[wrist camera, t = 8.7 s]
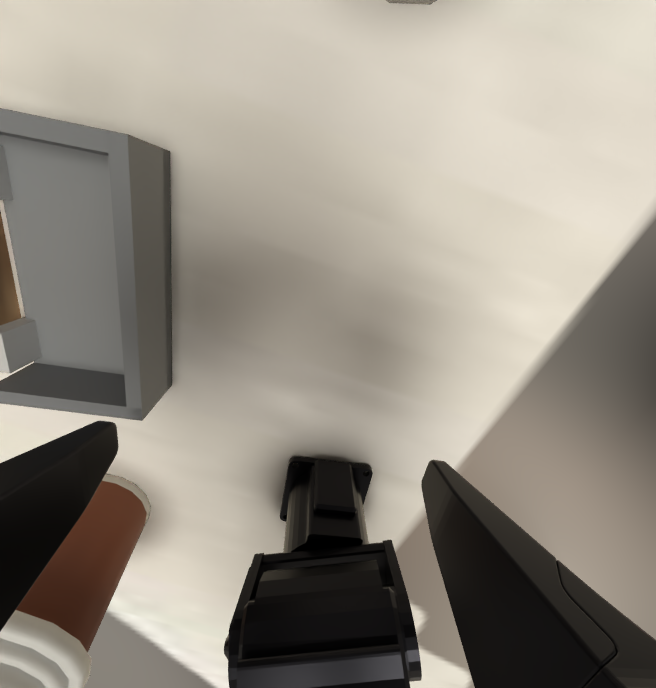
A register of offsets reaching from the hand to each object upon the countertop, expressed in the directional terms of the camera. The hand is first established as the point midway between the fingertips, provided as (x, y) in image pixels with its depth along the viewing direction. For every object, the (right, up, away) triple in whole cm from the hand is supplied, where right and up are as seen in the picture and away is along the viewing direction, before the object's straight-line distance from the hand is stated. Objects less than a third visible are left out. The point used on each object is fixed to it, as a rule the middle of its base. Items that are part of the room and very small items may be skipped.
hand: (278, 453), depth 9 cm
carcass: (-14, +8, +9) cm, 19 cm away
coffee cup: (-16, -10, +17) cm, 25 cm away
